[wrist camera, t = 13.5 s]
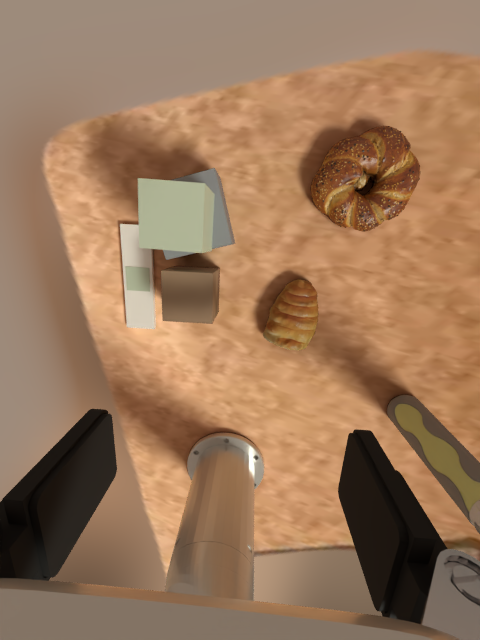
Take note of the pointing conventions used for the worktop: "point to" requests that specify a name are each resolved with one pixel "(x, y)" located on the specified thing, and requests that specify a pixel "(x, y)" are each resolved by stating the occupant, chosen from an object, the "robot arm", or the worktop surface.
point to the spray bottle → (440, 453)
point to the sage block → (175, 215)
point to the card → (137, 279)
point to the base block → (221, 216)
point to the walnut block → (190, 294)
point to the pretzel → (366, 179)
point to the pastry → (293, 316)
